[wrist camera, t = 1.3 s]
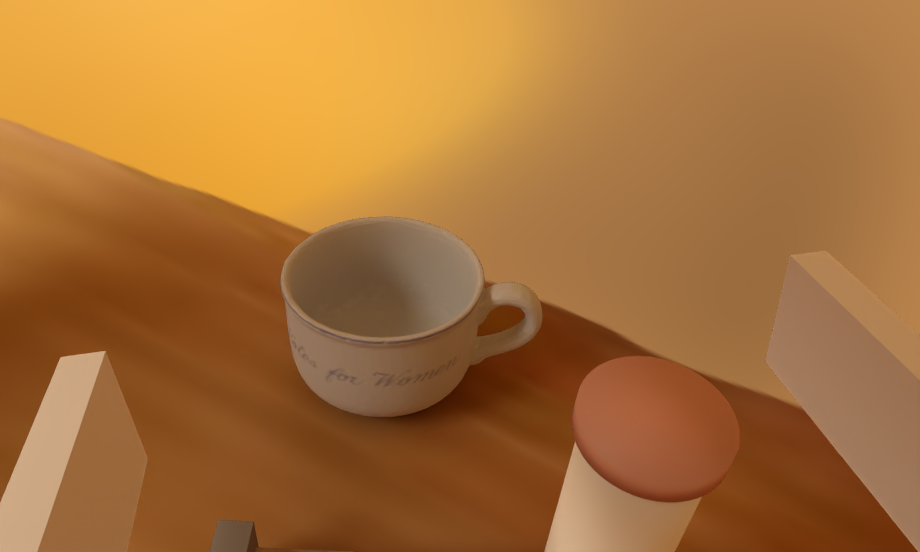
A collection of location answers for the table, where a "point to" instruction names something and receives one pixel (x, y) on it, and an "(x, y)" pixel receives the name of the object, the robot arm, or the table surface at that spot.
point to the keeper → (641, 457)
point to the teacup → (393, 314)
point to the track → (243, 539)
